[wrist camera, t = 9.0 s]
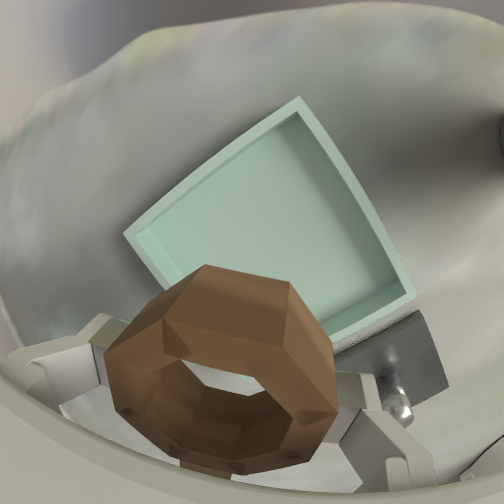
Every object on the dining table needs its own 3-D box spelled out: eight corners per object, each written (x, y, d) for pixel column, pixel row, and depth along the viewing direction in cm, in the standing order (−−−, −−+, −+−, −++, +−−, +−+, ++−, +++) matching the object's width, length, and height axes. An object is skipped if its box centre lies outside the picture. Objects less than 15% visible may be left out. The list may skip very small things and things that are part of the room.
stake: (445, 379, 20) (463, 420, 16) (358, 421, 23) (363, 465, 19) (419, 309, 19) (444, 353, 14) (314, 365, 22) (313, 415, 17)
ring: (150, 252, 9) (94, 296, 6) (348, 293, 8) (366, 359, 5) (157, 422, 12) (133, 469, 9) (283, 452, 11) (276, 506, 9)
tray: (406, 278, 18) (418, 295, 16) (249, 360, 22) (244, 381, 20) (300, 102, 16) (299, 95, 13) (141, 223, 20) (122, 233, 18)
